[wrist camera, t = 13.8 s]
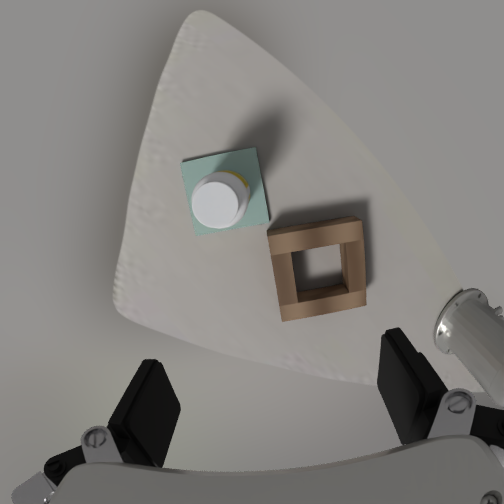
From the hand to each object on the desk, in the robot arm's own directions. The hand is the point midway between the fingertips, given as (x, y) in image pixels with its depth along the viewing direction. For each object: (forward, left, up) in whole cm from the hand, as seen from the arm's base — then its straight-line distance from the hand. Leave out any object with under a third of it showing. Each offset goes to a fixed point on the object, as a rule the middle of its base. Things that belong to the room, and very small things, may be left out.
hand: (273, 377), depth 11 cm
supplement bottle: (+3, -6, -25) cm, 26 cm away
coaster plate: (+4, -6, -25) cm, 26 cm away
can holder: (-6, +5, -25) cm, 26 cm away
